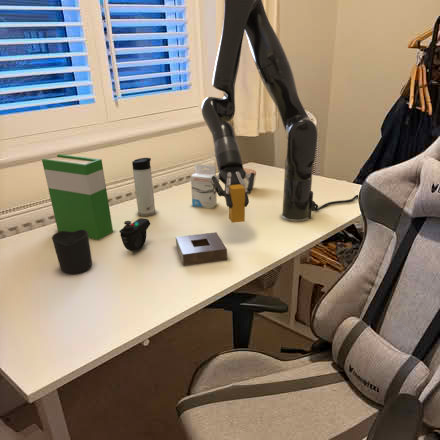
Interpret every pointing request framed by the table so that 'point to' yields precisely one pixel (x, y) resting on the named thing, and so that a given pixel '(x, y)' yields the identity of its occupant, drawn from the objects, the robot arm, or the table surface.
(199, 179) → the ink box
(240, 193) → the ochre peg
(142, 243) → the controller
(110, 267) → the table surface
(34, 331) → the table surface
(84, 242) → the pen holder
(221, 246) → the walnut stand
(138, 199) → the travel mug
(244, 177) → the trinket box
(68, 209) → the hardback book
